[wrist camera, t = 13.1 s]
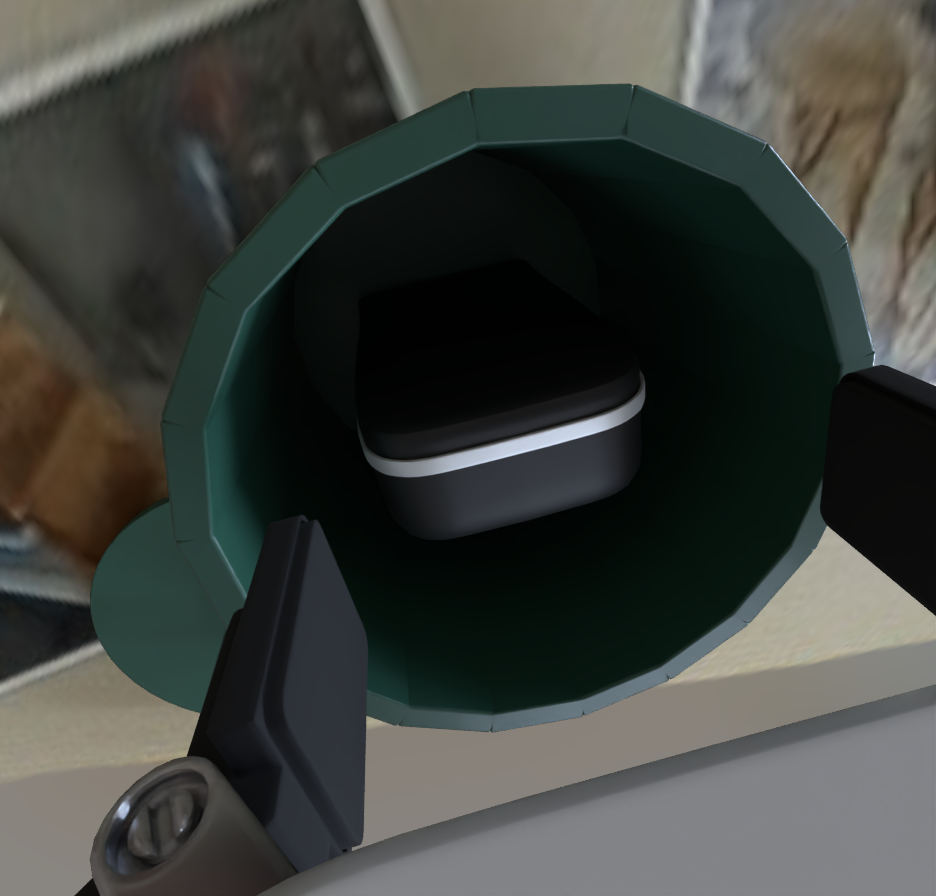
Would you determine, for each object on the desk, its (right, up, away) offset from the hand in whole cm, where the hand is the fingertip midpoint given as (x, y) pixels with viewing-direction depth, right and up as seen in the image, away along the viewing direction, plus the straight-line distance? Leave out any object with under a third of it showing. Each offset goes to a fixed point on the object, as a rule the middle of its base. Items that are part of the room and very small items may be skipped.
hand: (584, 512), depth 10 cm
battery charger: (-3, +6, +12) cm, 14 cm away
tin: (-3, +6, +13) cm, 14 cm away
